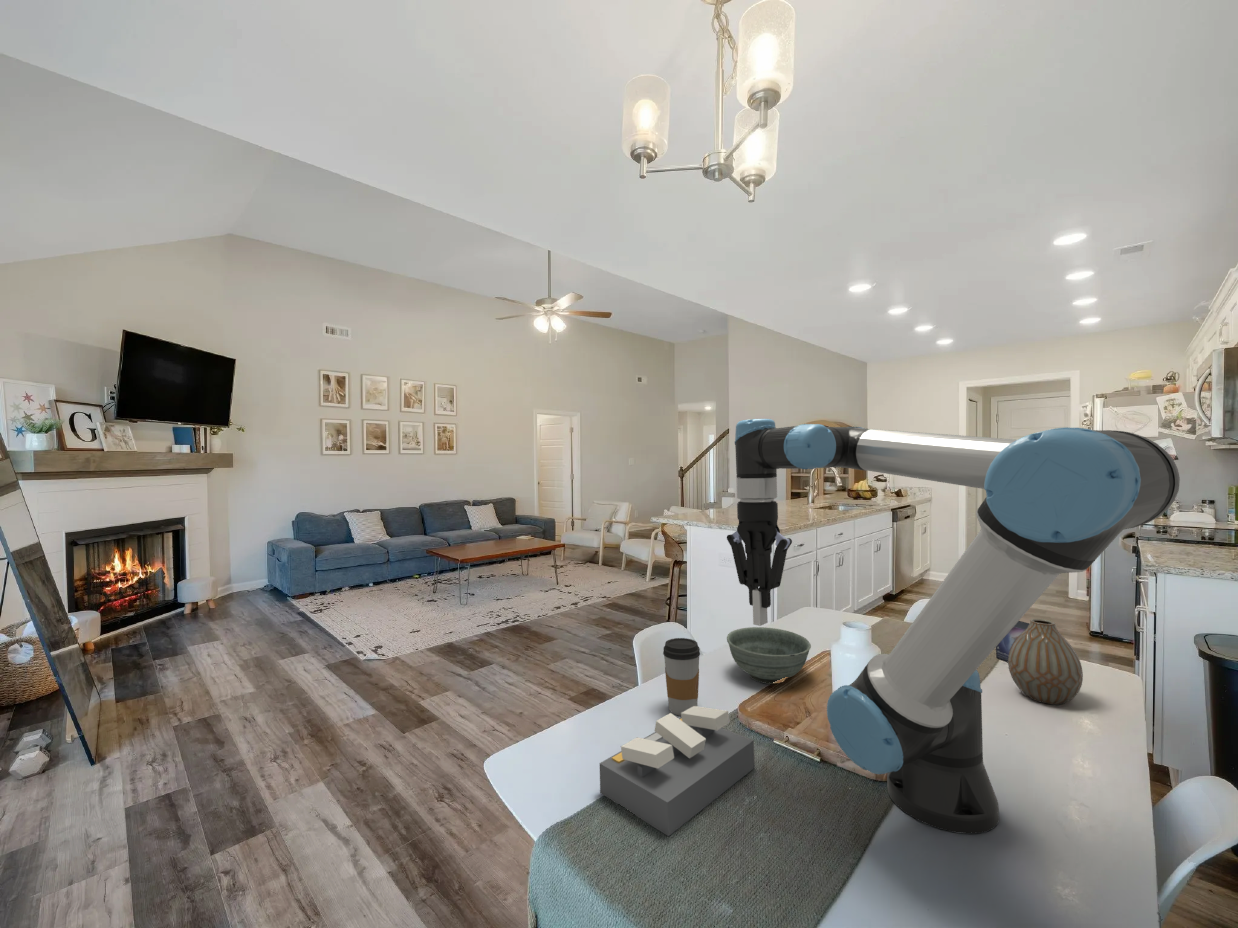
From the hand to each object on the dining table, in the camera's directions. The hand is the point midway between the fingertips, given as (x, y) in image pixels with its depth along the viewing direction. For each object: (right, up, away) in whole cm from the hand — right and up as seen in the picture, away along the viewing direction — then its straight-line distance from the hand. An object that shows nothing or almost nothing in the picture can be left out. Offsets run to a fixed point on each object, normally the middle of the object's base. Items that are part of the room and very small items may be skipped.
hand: (760, 623), depth 99 cm
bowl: (+12, -25, +34) cm, 44 cm away
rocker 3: (-11, -18, -3) cm, 21 cm away
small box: (+81, -23, +39) cm, 93 cm away
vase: (+70, -23, +19) cm, 76 cm away
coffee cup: (-13, -25, +18) cm, 33 cm away
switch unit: (-16, -25, -9) cm, 31 cm away
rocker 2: (-17, -18, -9) cm, 26 cm away
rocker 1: (-22, -18, -14) cm, 32 cm away
